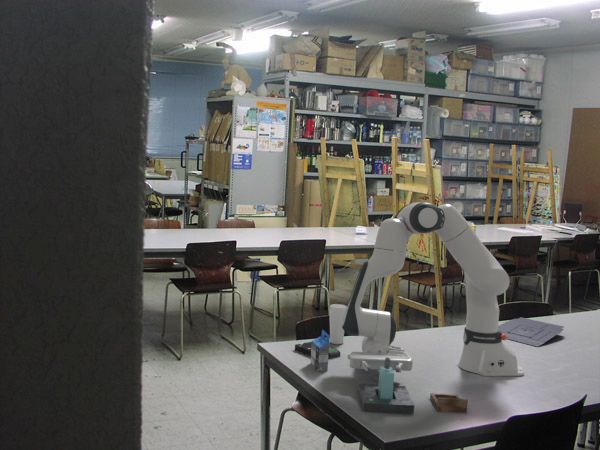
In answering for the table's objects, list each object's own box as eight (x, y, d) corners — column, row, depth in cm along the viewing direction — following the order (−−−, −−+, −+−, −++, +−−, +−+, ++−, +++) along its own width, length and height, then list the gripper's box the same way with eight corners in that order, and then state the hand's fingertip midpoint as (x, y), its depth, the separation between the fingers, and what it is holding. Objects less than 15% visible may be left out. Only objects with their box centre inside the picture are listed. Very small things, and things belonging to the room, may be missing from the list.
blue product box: (309, 363, 222) (311, 329, 221) (320, 363, 223) (322, 329, 222) (317, 371, 213) (319, 336, 212) (328, 371, 214) (330, 336, 213)
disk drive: (293, 351, 236) (320, 362, 225) (294, 344, 236) (320, 354, 225) (314, 347, 243) (341, 357, 232) (314, 340, 243) (341, 349, 232)
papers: (568, 333, 278) (568, 325, 278) (538, 353, 258) (538, 344, 257) (516, 322, 296) (517, 314, 295) (484, 339, 275) (484, 331, 274)
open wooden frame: (457, 399, 194) (458, 386, 193) (466, 413, 183) (467, 400, 182) (430, 397, 194) (431, 385, 193) (437, 411, 183) (438, 398, 182)
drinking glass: (347, 342, 250) (350, 305, 249) (339, 346, 244) (342, 308, 243) (333, 339, 254) (335, 303, 252) (324, 343, 248) (326, 305, 247)
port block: (404, 393, 196) (405, 384, 196) (413, 413, 180) (414, 404, 180) (358, 391, 196) (359, 382, 196) (363, 411, 180) (364, 401, 180)
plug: (389, 398, 191) (392, 354, 190) (392, 406, 185) (395, 361, 184) (377, 398, 191) (380, 354, 190) (380, 405, 185) (383, 360, 184)
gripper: (347, 345, 209) (350, 358, 195) (408, 348, 209) (416, 361, 195) (346, 363, 210) (349, 377, 196) (407, 366, 210) (414, 380, 196)
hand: (383, 369), depth 196 cm, fingers open, 8 cm apart
